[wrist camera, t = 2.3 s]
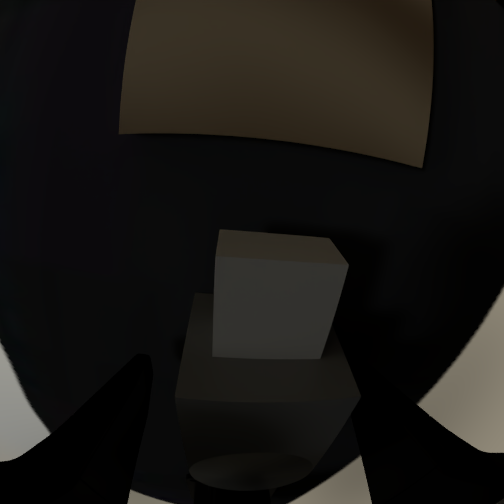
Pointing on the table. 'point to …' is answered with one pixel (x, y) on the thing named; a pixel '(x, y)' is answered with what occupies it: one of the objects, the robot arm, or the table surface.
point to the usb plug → (264, 363)
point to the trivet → (284, 72)
